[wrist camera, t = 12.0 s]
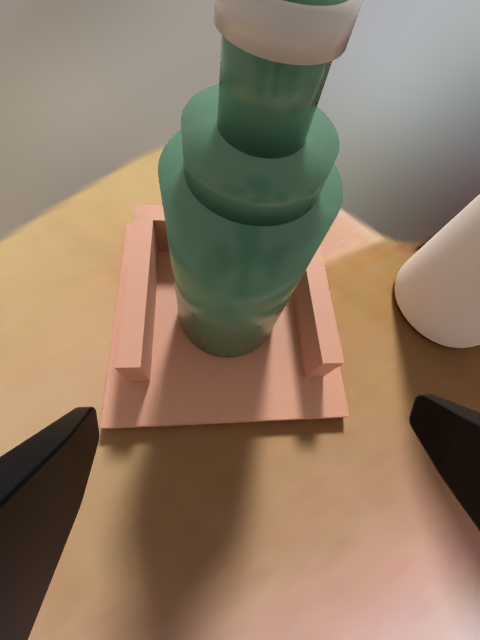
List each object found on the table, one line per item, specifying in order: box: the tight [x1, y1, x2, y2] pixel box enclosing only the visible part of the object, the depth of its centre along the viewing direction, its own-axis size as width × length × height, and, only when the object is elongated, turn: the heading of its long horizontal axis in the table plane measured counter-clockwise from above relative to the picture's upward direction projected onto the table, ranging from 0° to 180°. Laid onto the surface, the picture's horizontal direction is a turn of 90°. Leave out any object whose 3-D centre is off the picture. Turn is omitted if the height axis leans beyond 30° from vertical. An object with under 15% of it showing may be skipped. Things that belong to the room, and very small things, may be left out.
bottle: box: [158, 0, 363, 358], centre depth 13 cm, size 6×6×15 cm
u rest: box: [100, 204, 349, 429], centre depth 18 cm, size 14×14×4 cm
